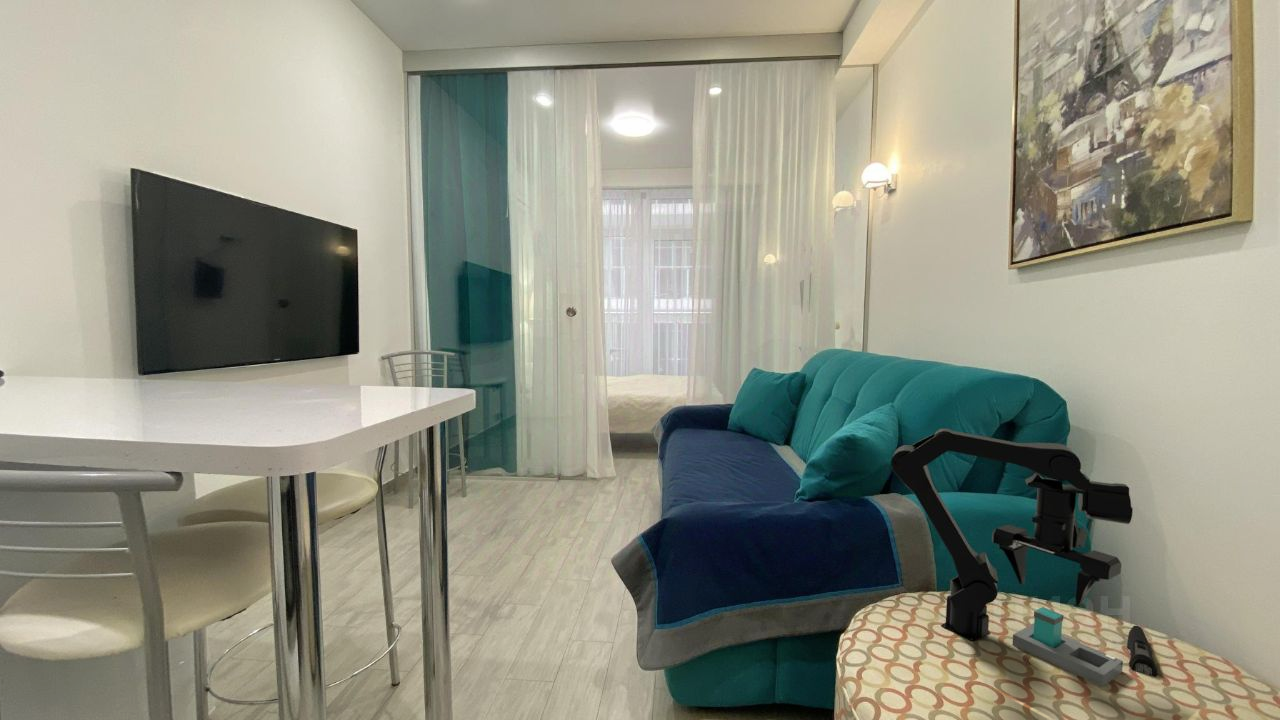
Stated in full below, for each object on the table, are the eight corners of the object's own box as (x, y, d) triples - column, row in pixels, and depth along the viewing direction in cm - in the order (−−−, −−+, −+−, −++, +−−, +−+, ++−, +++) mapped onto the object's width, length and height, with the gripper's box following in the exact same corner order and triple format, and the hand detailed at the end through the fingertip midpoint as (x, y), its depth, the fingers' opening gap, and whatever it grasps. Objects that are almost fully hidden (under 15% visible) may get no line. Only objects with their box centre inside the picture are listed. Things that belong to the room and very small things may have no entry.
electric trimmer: (1150, 643, 107) (1151, 628, 107) (1158, 682, 95) (1159, 664, 95) (1124, 636, 110) (1125, 621, 109) (1129, 673, 98) (1130, 656, 97)
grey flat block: (1012, 647, 105) (1013, 633, 105) (1032, 635, 109) (1033, 622, 109) (1102, 689, 93) (1103, 674, 93) (1122, 674, 97) (1123, 659, 97)
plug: (1031, 647, 104) (1034, 611, 103) (1040, 642, 106) (1042, 606, 105) (1052, 656, 101) (1054, 620, 101) (1061, 651, 103) (1063, 615, 102)
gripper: (1137, 521, 98) (1130, 606, 99) (1021, 492, 114) (1016, 565, 115) (1110, 532, 92) (1103, 622, 93) (992, 500, 108) (987, 577, 109)
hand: (1049, 594), depth 103 cm, fingers open, 9 cm apart
